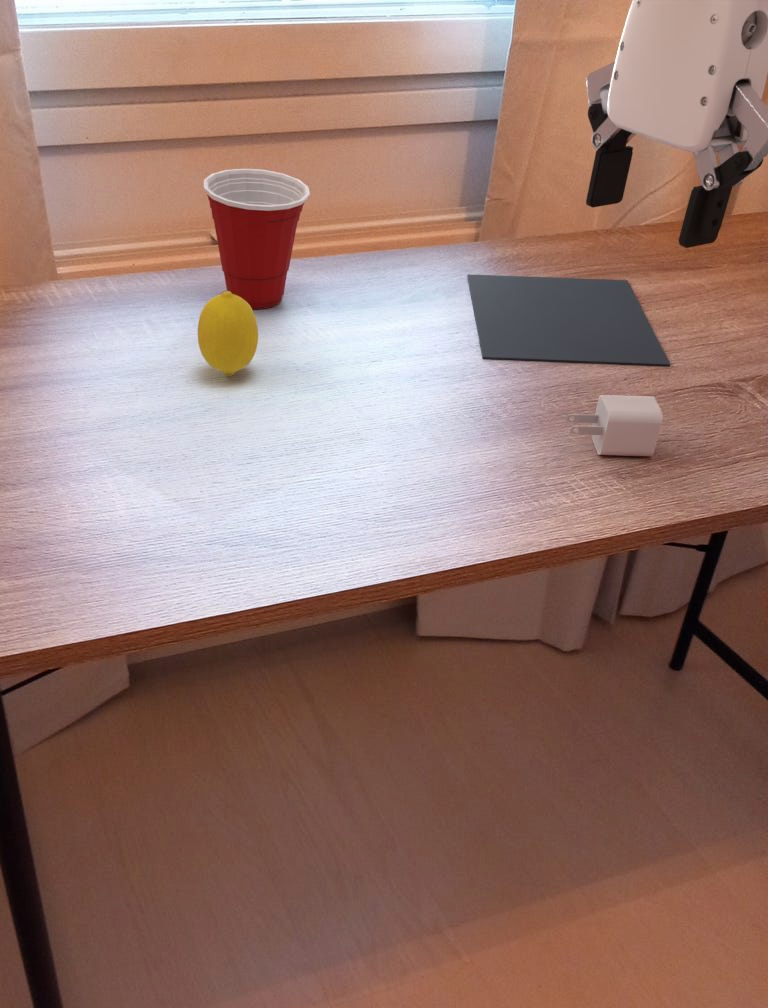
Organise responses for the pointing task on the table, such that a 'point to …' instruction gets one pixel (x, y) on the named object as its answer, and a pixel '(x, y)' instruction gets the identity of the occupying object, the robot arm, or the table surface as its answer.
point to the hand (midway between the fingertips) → (648, 223)
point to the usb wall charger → (622, 425)
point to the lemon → (227, 333)
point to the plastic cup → (255, 230)
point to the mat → (562, 321)
